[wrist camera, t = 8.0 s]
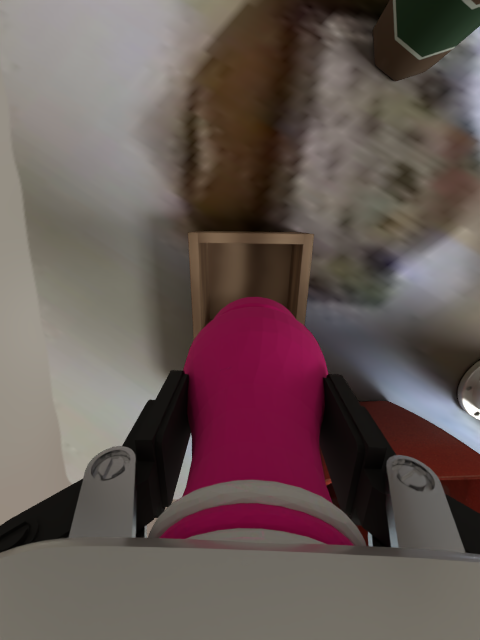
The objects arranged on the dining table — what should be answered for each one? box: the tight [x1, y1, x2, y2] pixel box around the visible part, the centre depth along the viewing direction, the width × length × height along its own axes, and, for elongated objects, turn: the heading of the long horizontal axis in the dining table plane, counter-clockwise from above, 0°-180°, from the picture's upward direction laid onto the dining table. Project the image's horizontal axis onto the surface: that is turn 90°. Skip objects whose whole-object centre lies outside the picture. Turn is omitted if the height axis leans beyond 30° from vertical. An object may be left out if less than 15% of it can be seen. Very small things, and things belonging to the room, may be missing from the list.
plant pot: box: [319, 401, 480, 546], centre depth 37 cm, size 19×19×17 cm
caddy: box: [188, 231, 314, 339], centre depth 35 cm, size 13×25×8 cm, turn 179°
